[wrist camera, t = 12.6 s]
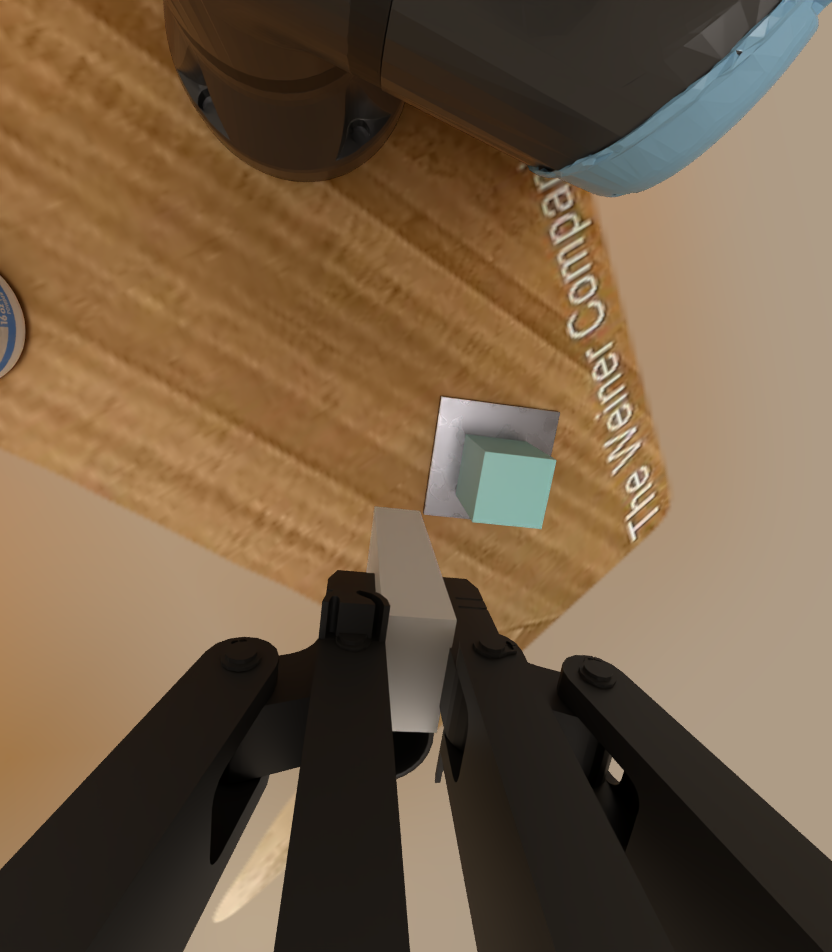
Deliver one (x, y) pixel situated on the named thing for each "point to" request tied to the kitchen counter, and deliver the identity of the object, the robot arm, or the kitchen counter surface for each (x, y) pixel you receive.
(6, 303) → the supplement tub
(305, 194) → the kitchen counter surface
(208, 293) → the kitchen counter surface
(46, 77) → the kitchen counter surface
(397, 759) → the mug
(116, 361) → the kitchen counter surface
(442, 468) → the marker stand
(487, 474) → the teal rectangular block
